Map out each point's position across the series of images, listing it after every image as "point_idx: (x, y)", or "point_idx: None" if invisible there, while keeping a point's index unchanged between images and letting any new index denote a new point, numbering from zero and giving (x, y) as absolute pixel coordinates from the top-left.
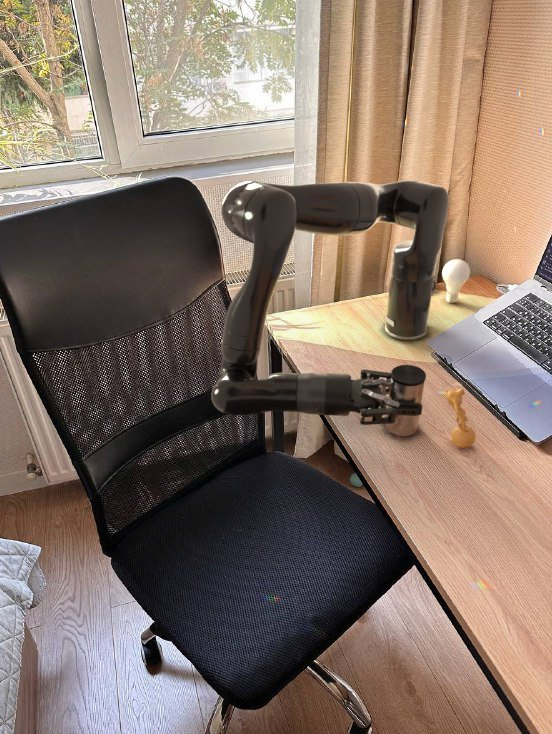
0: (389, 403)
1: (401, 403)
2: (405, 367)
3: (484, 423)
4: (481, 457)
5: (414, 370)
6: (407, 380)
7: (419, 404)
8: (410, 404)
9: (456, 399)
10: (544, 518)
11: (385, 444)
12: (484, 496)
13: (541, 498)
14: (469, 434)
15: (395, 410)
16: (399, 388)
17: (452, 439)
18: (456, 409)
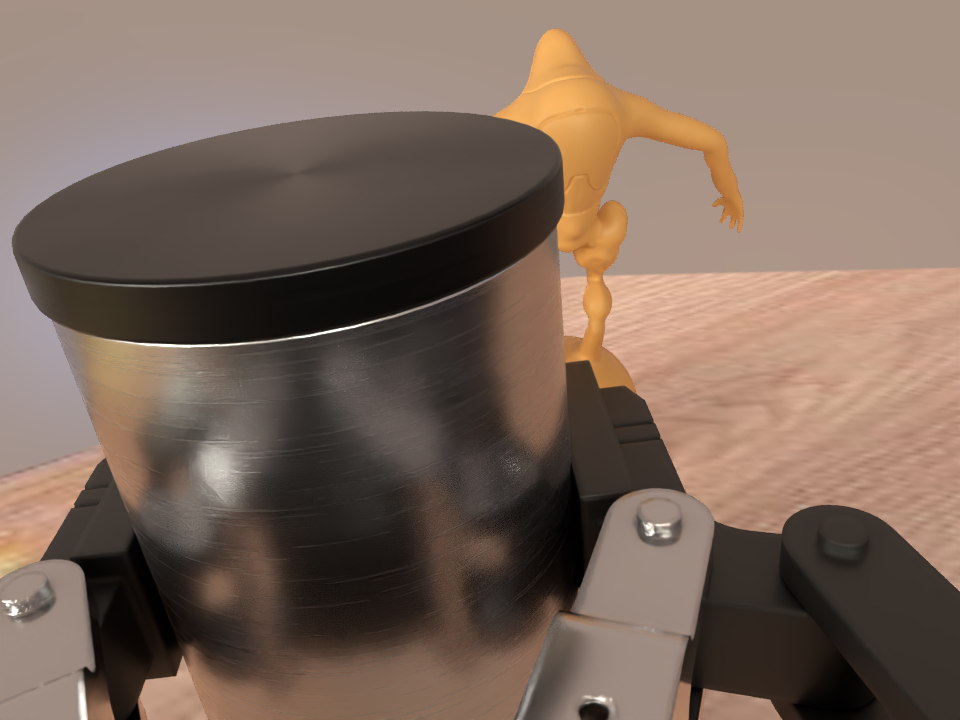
0: (683, 593)
1: (614, 482)
2: (105, 206)
3: None
4: (646, 403)
5: (217, 159)
6: (482, 159)
7: (575, 367)
8: (602, 417)
9: (629, 93)
10: (938, 269)
11: None
12: (956, 385)
13: (825, 276)
14: (601, 346)
15: (829, 515)
16: (534, 330)
17: None
18: (712, 127)
